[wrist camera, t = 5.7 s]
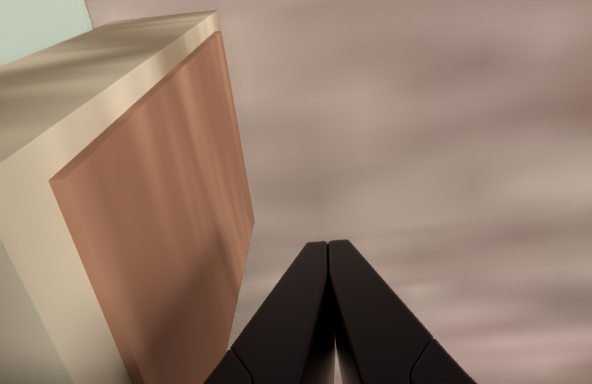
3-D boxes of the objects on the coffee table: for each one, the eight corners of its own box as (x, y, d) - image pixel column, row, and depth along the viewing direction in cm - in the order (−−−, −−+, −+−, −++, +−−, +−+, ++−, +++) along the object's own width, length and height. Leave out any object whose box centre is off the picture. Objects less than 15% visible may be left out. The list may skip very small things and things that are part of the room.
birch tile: (223, 9, 15) (-8, 181, 4) (259, 218, 18) (185, 582, 8) (113, 21, 15) (-360, 209, 4) (170, 224, 19) (-12, 583, 8)
